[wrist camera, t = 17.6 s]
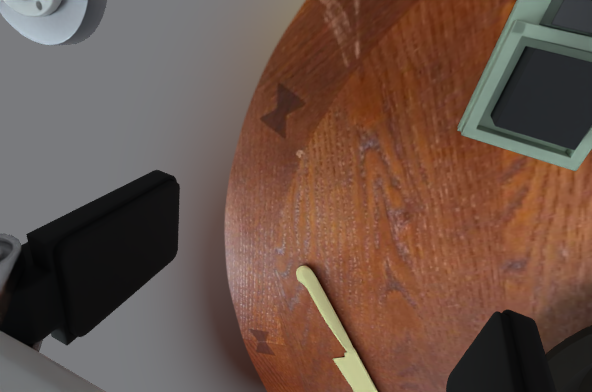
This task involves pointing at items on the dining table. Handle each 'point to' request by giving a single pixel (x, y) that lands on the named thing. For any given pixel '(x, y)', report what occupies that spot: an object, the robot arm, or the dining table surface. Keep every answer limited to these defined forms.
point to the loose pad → (547, 98)
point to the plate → (572, 363)
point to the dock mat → (515, 36)
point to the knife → (337, 334)
